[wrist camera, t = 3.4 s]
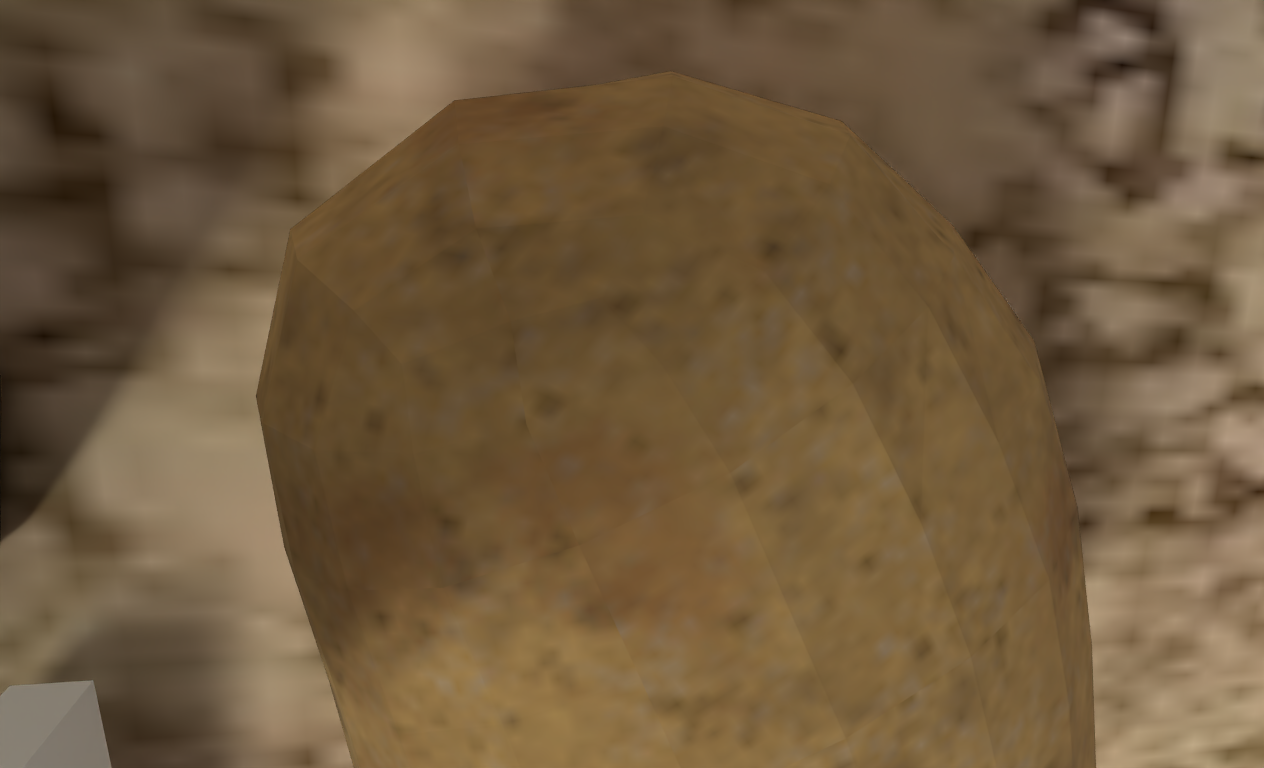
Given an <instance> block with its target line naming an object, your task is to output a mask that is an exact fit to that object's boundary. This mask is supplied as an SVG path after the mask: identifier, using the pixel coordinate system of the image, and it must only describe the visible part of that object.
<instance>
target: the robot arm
mask: <svg viewBox="0 0 1264 768" xmlns="http://www.w3.org/2000/svg"><path fill="white" fill-rule="evenodd" d="M0 768H112V767H111V762H110V758H109V753H108V748H107V743H106V738H105V734H104V729H103V724H102V719H101V714H100V710H99V705H98V700H97V695H96V690H95V686H94V681H93V680H90V681H74V682H59V683H44V684H29V685H13V686H9V687H8V688H7V689H6V690H5V691H4V692H3V693H2V694H1V695H0Z"/></svg>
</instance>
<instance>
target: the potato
mask: <svg viewBox="0 0 1264 768" xmlns="http://www.w3.org/2000/svg"><path fill="white" fill-rule="evenodd" d="M256 399H257V404H258V410H259V415H260V420H261V426H262V431H263V436H264V441H265V447H266V452H267V457H268V463H269V468H270V473H271V479H272V484H273V489H274V495H275V500H276V505H277V511H278V516H279V521H280V527H281V532H282V537H283V543H284V548H285V551H286V554H287V557H288V560H289V563H290V566H291V569H292V571H293V574H294V577H295V580H296V583H297V586H298V589H299V592H300V595H301V598H302V601H303V604H304V607H305V610H306V613H307V616H308V619H309V622H310V625H311V628H312V631H313V634H314V637H315V640H316V643H317V646H318V649H319V652H320V655H321V658H322V661H323V664H324V667H325V670H326V673H327V676H328V679H329V682H330V686H331V689H332V693H333V696H334V700H335V703H336V707H337V710H338V714H339V717H340V721H341V724H342V728H343V731H344V735H345V738H346V742H347V745H348V749H349V752H350V756H351V759H352V763H353V766H354V768H1096V755H1095V726H1094V696H1093V667H1092V644H1091V635H1090V625H1089V615H1088V605H1087V595H1086V585H1085V576H1084V566H1083V556H1082V546H1081V536H1080V527H1079V517H1078V508H1077V504H1076V500H1075V497H1074V493H1073V489H1072V485H1071V481H1070V477H1069V473H1068V470H1067V466H1066V462H1065V458H1064V454H1063V450H1062V446H1061V443H1060V439H1059V435H1058V431H1057V427H1056V423H1055V419H1054V416H1053V412H1052V408H1051V404H1050V400H1049V396H1048V392H1047V389H1046V385H1045V381H1044V377H1043V373H1042V369H1041V365H1040V362H1039V358H1038V354H1037V350H1036V346H1035V342H1034V340H1033V339H1032V337H1031V336H1030V335H1029V333H1028V332H1027V330H1026V329H1025V327H1024V326H1023V325H1022V323H1021V322H1020V320H1019V319H1018V318H1017V316H1016V315H1015V313H1014V312H1013V310H1012V309H1011V308H1010V306H1009V305H1008V303H1007V302H1006V301H1005V299H1004V298H1003V296H1002V295H1001V293H1000V292H999V291H998V289H997V288H996V286H995V285H994V284H993V282H992V281H991V279H990V278H989V276H988V275H987V274H986V272H985V271H984V269H983V268H982V266H981V265H980V264H979V262H978V261H977V259H976V258H975V257H974V255H973V254H972V252H971V251H970V249H969V248H968V247H967V245H966V244H965V242H964V241H963V240H962V238H961V237H960V235H959V234H958V232H957V231H956V230H955V228H954V227H953V225H951V224H950V223H949V222H948V221H947V220H946V219H945V218H944V217H943V216H942V215H941V214H940V213H939V212H938V211H937V210H935V209H934V208H933V207H932V206H931V205H930V204H929V203H928V202H927V201H926V200H925V199H924V198H923V197H922V196H921V195H920V194H918V193H917V192H916V191H915V190H914V189H913V188H912V187H911V186H910V185H909V184H908V183H907V182H906V181H905V180H904V179H903V178H901V177H900V176H899V175H898V174H897V173H896V172H895V171H894V170H893V169H892V168H891V167H890V166H889V165H888V164H887V163H886V162H884V161H883V160H882V159H881V158H880V157H879V156H878V155H877V154H876V153H875V152H874V151H873V150H872V149H871V148H870V147H869V146H867V145H866V144H865V143H864V142H863V141H862V140H861V139H860V138H859V137H858V136H857V135H856V134H855V133H854V132H853V131H851V130H850V129H849V128H848V127H847V126H846V125H845V124H844V123H843V122H842V121H839V120H836V119H832V118H829V117H825V116H822V115H819V114H815V113H812V112H808V111H805V110H802V109H798V108H795V107H791V106H788V105H785V104H781V103H778V102H774V101H771V100H767V99H764V98H761V97H757V96H754V95H750V94H747V93H744V92H740V91H737V90H733V89H730V88H727V87H723V86H720V85H716V84H713V83H710V82H706V81H703V80H699V79H696V78H693V77H689V76H686V75H682V74H679V73H676V72H672V71H668V72H663V73H658V74H652V75H647V76H641V77H636V78H630V79H625V80H620V81H614V82H609V83H603V84H598V85H590V86H581V87H572V88H563V89H554V90H545V91H536V92H527V93H518V94H509V95H500V96H491V97H482V98H472V99H463V100H455V101H453V102H452V103H451V104H449V105H448V106H447V107H446V108H444V109H443V110H442V111H441V112H439V113H438V114H437V115H435V116H434V117H433V118H432V119H430V120H429V121H428V122H427V123H425V124H424V125H423V126H421V127H420V128H419V129H418V130H416V131H415V132H414V133H413V134H411V135H410V136H409V137H407V138H406V139H405V140H404V141H402V142H401V143H400V144H398V145H397V146H396V147H395V148H393V149H392V150H391V151H390V152H388V153H387V154H386V155H384V156H383V157H382V158H381V159H379V160H378V161H377V162H376V163H374V164H373V165H372V166H370V167H369V168H368V169H367V170H365V171H364V172H363V173H362V174H360V175H359V176H358V177H356V178H355V179H354V180H353V181H351V182H350V183H349V184H348V185H346V186H345V187H344V188H342V189H341V190H340V191H339V192H337V193H336V194H335V195H334V196H332V197H331V198H330V199H328V200H327V201H326V202H325V203H323V204H322V205H321V206H320V207H318V208H317V209H316V210H314V211H313V212H312V213H311V214H309V215H308V216H307V217H305V218H304V219H303V220H302V221H300V222H299V223H298V224H297V225H295V226H294V227H293V228H291V229H290V233H289V238H288V243H287V248H286V253H285V258H284V263H283V267H282V272H281V277H280V282H279V287H278V292H277V297H276V301H275V306H274V311H273V316H272V321H271V326H270V331H269V335H268V340H267V345H266V350H265V355H264V360H263V365H262V370H261V374H260V379H259V384H258V389H257V394H256Z"/></svg>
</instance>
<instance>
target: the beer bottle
mask: <svg viewBox="0 0 1264 768" xmlns="http://www.w3.org/2000/svg"><path fill="white" fill-rule="evenodd" d="M0 538H1V375H0Z"/></svg>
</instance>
